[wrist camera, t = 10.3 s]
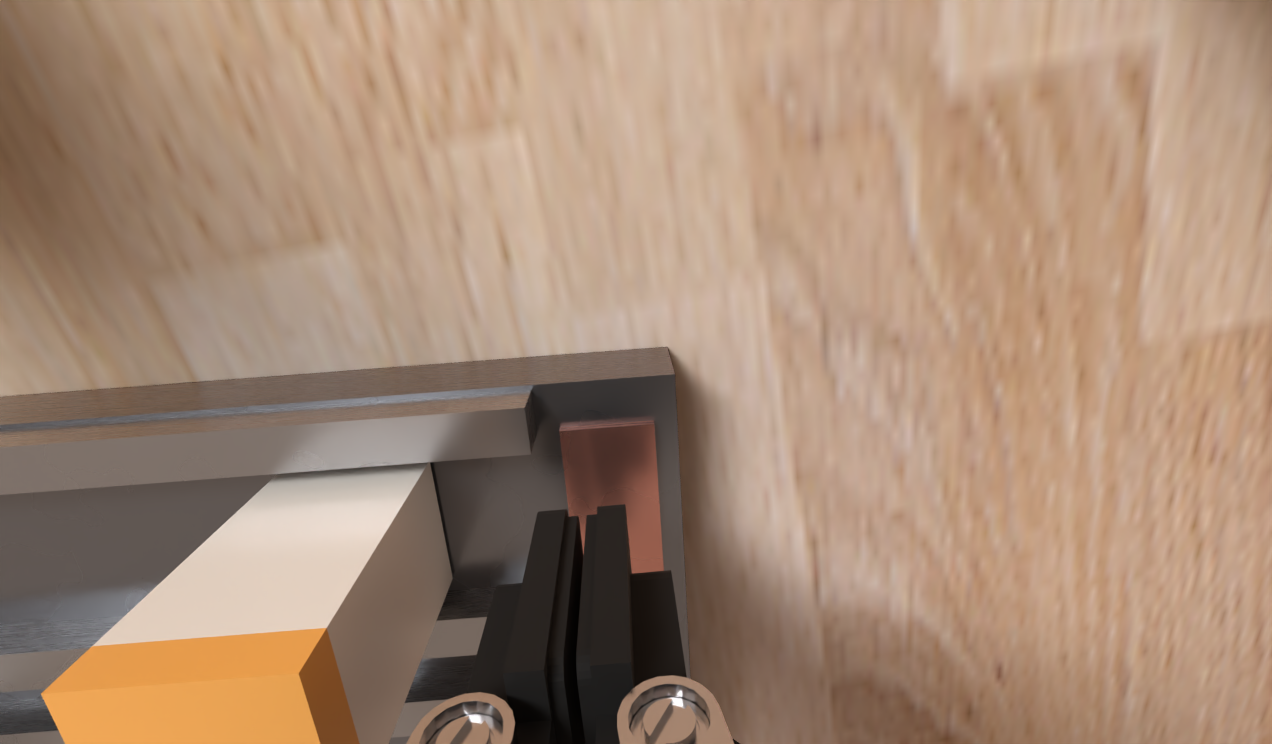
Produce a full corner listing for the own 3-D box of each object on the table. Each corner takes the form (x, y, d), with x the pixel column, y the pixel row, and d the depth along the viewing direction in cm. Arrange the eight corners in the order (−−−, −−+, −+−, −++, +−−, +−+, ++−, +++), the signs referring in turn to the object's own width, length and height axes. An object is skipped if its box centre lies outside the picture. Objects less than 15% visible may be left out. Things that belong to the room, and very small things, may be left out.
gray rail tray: (667, 346, 15) (680, 391, 12) (689, 753, 19) (702, 857, 16) (-525, 436, 15) (-801, 503, 12) (-234, 827, 19) (-386, 947, 16)
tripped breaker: (429, 460, 13) (297, 673, 8) (453, 578, 14) (351, 840, 9) (279, 472, 13) (40, 694, 8) (312, 589, 14) (121, 860, 9)
